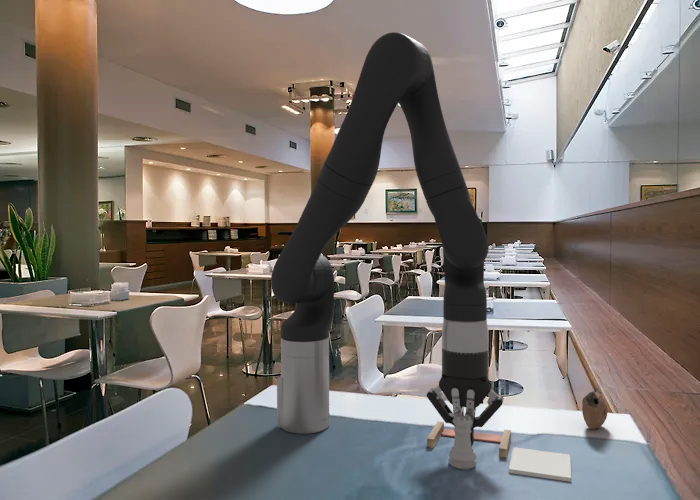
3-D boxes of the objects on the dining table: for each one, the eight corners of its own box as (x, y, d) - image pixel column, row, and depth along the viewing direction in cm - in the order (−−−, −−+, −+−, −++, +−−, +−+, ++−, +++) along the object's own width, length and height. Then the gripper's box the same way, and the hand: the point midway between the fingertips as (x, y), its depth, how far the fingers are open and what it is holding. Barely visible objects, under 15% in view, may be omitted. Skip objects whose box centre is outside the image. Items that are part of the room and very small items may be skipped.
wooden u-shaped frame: (426, 446, 96) (426, 438, 95) (437, 429, 104) (437, 421, 104) (506, 458, 91) (506, 449, 91) (510, 438, 99) (511, 430, 99)
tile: (508, 472, 85) (508, 468, 85) (513, 450, 94) (513, 447, 94) (571, 481, 82) (571, 477, 82) (569, 458, 91) (569, 454, 91)
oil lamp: (601, 439, 99) (602, 395, 98) (577, 435, 101) (578, 392, 100) (608, 424, 106) (609, 383, 106) (586, 420, 108) (587, 380, 108)
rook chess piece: (477, 471, 86) (478, 421, 85) (448, 469, 86) (449, 419, 86) (475, 459, 90) (475, 411, 90) (447, 458, 91) (448, 410, 91)
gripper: (420, 347, 89) (420, 452, 90) (504, 353, 85) (503, 463, 86) (430, 338, 96) (430, 435, 97) (508, 344, 92) (507, 445, 93)
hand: (464, 448), depth 91 cm, fingers closed
